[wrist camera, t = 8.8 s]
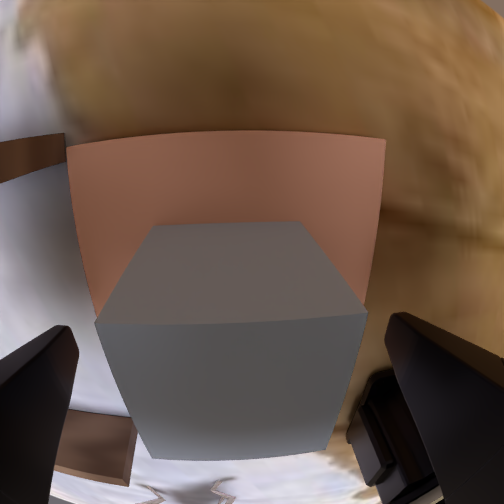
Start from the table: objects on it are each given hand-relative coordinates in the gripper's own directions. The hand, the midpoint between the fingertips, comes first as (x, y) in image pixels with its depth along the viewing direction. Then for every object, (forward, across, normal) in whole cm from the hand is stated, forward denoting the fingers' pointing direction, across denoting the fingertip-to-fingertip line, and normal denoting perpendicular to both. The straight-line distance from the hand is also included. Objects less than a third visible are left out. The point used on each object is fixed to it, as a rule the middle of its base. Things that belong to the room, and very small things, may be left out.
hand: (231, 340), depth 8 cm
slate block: (+3, 0, 0) cm, 3 cm away
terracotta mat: (+4, 0, 0) cm, 4 cm away
